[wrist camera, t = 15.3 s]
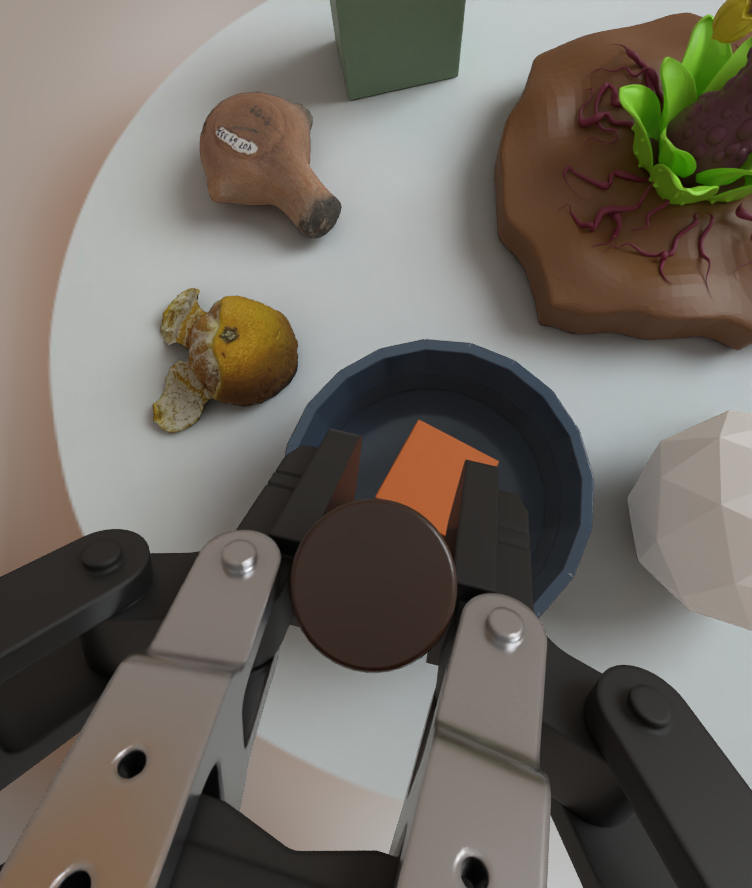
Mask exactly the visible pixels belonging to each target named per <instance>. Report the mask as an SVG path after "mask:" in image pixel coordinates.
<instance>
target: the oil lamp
mask: <svg viewBox="0 0 752 888" xmlns="http://www.w3.org/2000/svg"><path fill="white" fill-rule="evenodd" d="M312 119H313V117H312V115H311V113H310V111H309V110H308V109H307V108H305V107H304V106H303V105H301V104H292V103H290V102H288V101H286V100H284V99H282V98H279V97H276V96H273V95H269V94H265V93H261V92H251V93H242V94H237V95H234V96H232V97H229V98H227V99H225V100H223V101H222V102H220V103H219V104H218V105H217V106H216V107H215V108H214V109H213V110H212V111H211V112H210V114H209V115H208V116H207V118H206V120H205V123H204V125H203V129H202V132H201V136H200V156H201V161H202V165H203V168H204V171H205V174H206V179H207V186H208V190H209V196H210V198H211V199H212V200H213V201H215V202H218V203H223V202H224V203H238V204H244V205H265V204H270V205H274V206H275V207H277V208H279V209H280V210H281V211H283V212H284V213H285V214H286V215H287V216H288V217H289V218H290V219H291V221H292V222H293V223H294V224H295V226H296V227H297V229H298V230H299V232H300V233H301V234H302V235H303V234H304V235H307V236H309V237H310V238H319V237H321V236H323V235H325V234H327V233H328V232H329V231H330V230H331V229H332V228H333V227H334V225H335V224H336V221H337V219H338V218H339V215H340V212H341V208H342V207H341V203H340V202H339V200H338V199H337V198H336V197H335V196H333V195H332V194H331V193H330V192H329V191H328V190H327V189H326V188H325V186H324V185H323V184H322V183H321V182H320V180H319V179H318V178H317V176H316V175H315V174H314V172H313V171H312V169H311V168H310V166H309V164H310V130H311V127H312Z"/></svg>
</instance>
